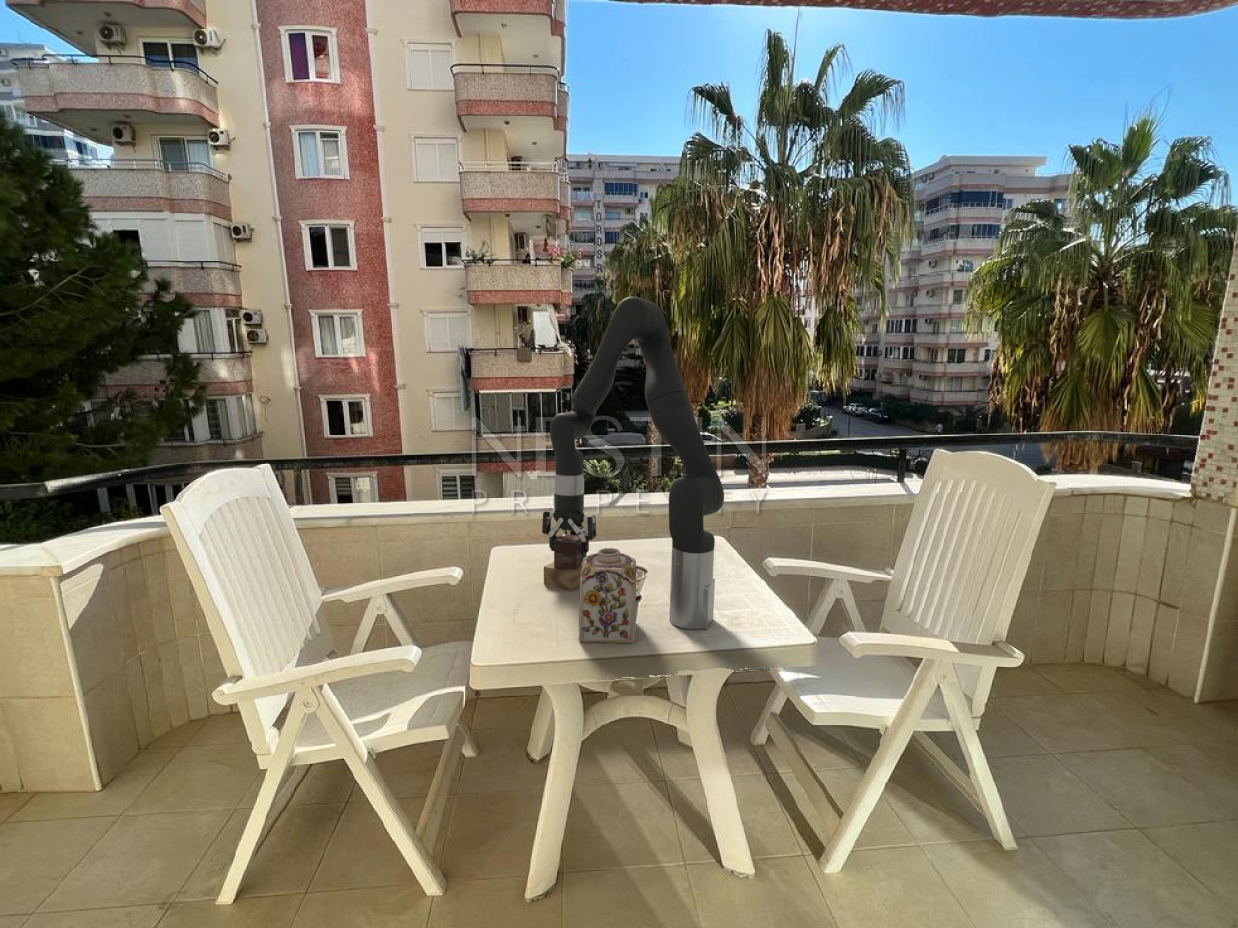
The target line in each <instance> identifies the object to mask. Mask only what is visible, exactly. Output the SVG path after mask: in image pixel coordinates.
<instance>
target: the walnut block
mask: <svg viewBox="0 0 1238 928" xmlns="http://www.w3.org/2000/svg"><path fill="white" fill-rule="evenodd" d="M581 567H582V563H581V565H580V566H579V567H578V568H577V569H566V568H555V567H554V561H553V562H551V563H549V564H546V565H543V584H544V585H547V586H550V587H553V588H556V589H557V588H558V589H561V590H565V591H568V592H571V593H572V592H574V591H576V590H577V589H580V580H579V579H580V574H581V570H582V569H581Z"/></svg>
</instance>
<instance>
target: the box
mask: <svg viewBox="0 0 1238 928" xmlns="http://www.w3.org/2000/svg"><path fill="white" fill-rule="evenodd" d="M581 541H582V540H581V538H580V537H579V536H578V535H566V534H563V533H562V534H560V535H558V536H557V539H555V540H554V551H553V562H554V567H555V568H566V569H577V568H578V567H579V566H580V565H581V563H582V555H581Z"/></svg>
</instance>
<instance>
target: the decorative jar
mask: <svg viewBox="0 0 1238 928" xmlns="http://www.w3.org/2000/svg"><path fill="white" fill-rule="evenodd" d="M636 566H637V561H636V559H635V558H634V557H632V556H630V555H628V554H625V553H621V550H619V549H618V548H613V547H607V548H606V547H605V548H602V549H601V548H600V549H599V550H598V552H597V553H593V554H589V555H586V557H584V558H583V560H582V567H581V569H582V570H581V574H580V579H579V580H580V588H579V601H578V602H579V609H578V641H579V642H581V643H606V644H607V643H609V644H634V643H635V640H636V638H635V637H636V622H637V621H636V618H637V617H636V613H637V612H636V609H637V608H636V607H637V606H636V605H637V568H636Z"/></svg>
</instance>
